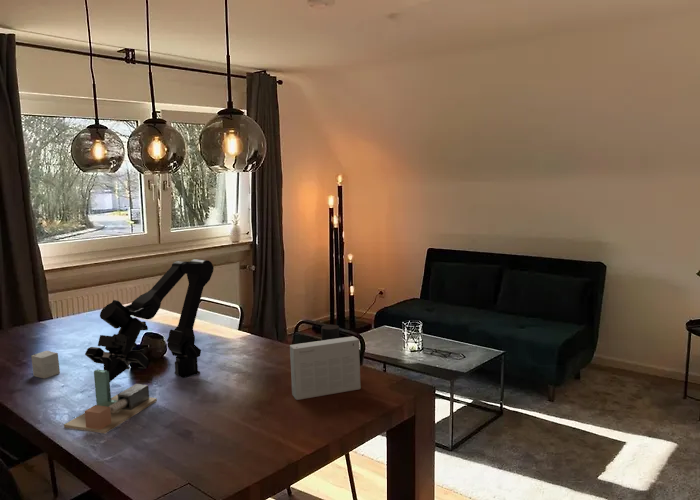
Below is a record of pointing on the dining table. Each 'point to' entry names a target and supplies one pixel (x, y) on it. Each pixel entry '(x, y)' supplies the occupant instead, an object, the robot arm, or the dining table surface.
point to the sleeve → (135, 395)
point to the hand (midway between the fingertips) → (104, 384)
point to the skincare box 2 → (325, 367)
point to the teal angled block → (106, 392)
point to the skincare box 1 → (45, 364)
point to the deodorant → (330, 332)
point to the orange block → (98, 417)
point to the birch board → (115, 417)
